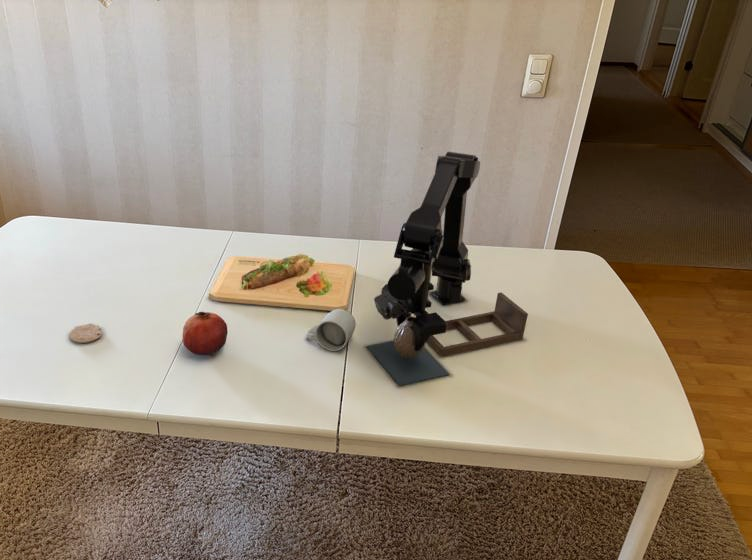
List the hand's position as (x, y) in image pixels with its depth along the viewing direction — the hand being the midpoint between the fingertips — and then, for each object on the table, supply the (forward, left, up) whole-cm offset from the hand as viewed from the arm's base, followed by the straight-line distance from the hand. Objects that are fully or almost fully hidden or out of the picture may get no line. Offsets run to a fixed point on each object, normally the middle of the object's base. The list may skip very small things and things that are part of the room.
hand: (409, 341), depth 159 cm
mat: (0, 0, -5) cm, 5 cm away
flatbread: (-35, -66, -5) cm, 75 cm away
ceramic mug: (-13, -13, -5) cm, 19 cm away
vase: (0, 0, -3) cm, 3 cm away
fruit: (-19, -41, -5) cm, 46 cm away
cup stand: (-4, +18, -5) cm, 19 cm away
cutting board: (-42, -14, -5) cm, 45 cm away
